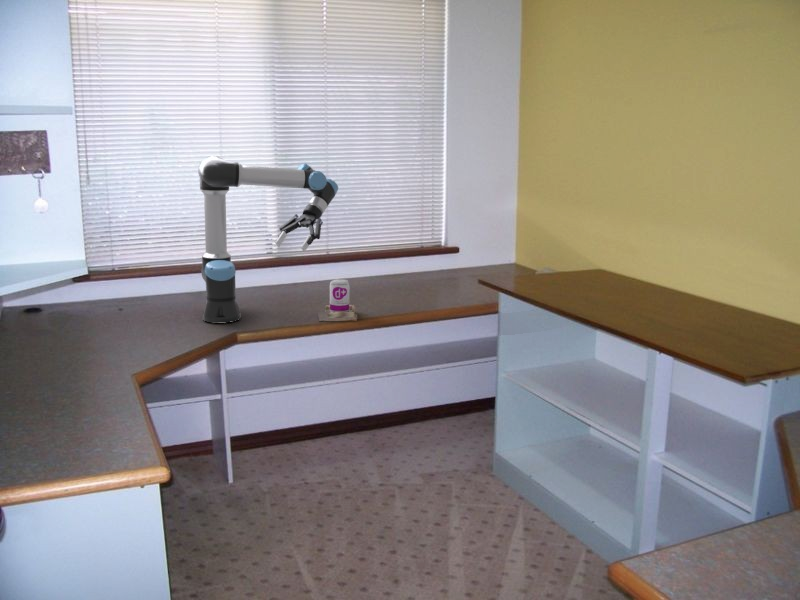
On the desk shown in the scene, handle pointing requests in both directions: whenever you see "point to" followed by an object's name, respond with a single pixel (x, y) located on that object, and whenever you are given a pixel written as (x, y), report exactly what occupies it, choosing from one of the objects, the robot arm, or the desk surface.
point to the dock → (341, 314)
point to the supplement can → (339, 295)
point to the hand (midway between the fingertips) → (289, 247)
